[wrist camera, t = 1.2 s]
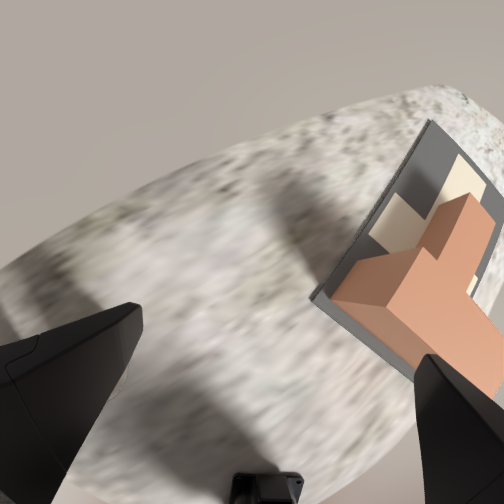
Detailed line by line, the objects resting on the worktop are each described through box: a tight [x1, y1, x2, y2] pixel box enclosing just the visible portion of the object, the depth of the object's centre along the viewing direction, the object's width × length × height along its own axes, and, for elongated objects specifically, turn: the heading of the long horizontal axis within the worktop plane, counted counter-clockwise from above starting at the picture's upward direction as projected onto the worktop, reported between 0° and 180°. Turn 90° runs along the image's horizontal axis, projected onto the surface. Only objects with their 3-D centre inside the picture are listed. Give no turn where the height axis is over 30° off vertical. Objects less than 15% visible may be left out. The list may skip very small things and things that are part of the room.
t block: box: [329, 192, 504, 399], centre depth 21 cm, size 14×12×10 cm
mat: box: [312, 120, 504, 383], centre depth 26 cm, size 24×14×1 cm, turn 141°
